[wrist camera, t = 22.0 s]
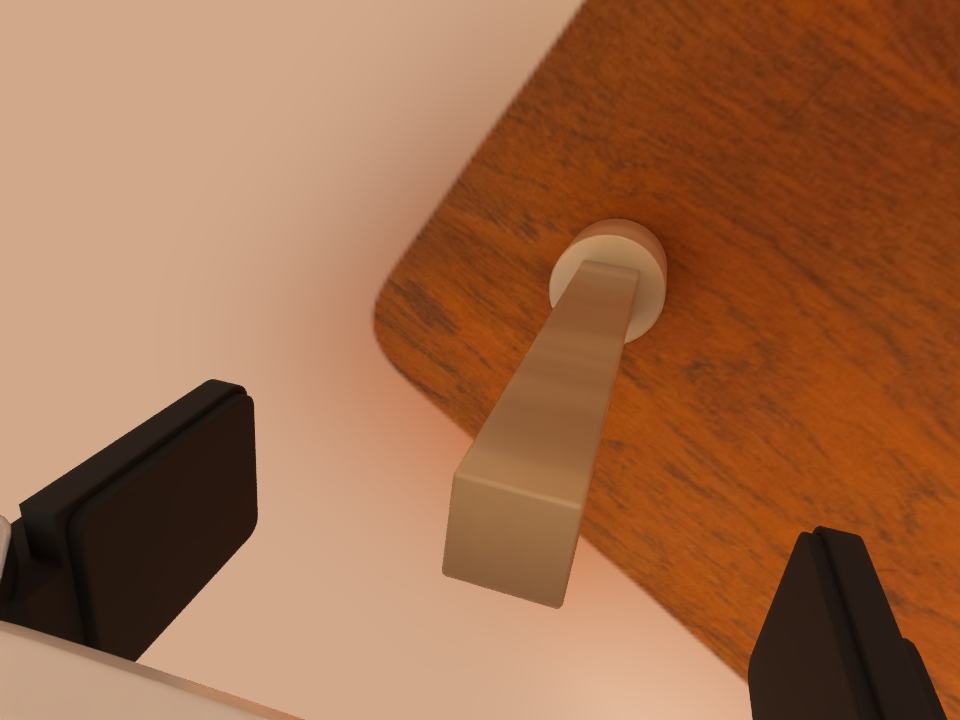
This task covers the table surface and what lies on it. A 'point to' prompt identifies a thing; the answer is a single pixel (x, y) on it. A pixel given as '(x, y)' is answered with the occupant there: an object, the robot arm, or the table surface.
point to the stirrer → (553, 419)
